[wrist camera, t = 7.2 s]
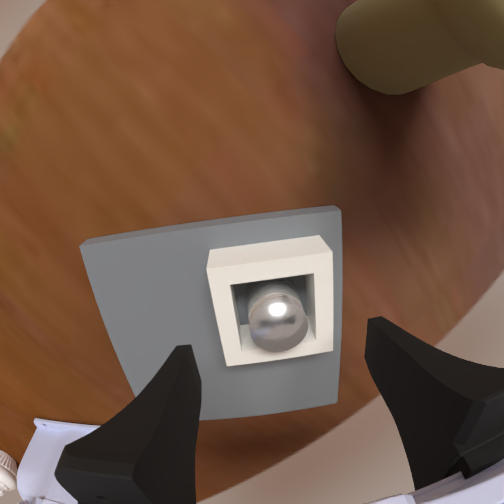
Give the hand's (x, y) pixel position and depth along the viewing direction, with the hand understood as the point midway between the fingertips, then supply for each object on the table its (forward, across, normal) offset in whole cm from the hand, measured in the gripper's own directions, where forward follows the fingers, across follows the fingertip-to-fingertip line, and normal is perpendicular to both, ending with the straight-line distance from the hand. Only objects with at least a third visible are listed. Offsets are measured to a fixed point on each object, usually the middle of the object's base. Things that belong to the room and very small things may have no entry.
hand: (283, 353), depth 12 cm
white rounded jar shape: (+7, +37, +23) cm, 44 cm away
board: (+6, +3, +3) cm, 8 cm away
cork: (+7, -8, -13) cm, 17 cm away
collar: (+5, 0, 0) cm, 5 cm away
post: (+5, 0, 0) cm, 5 cm away
